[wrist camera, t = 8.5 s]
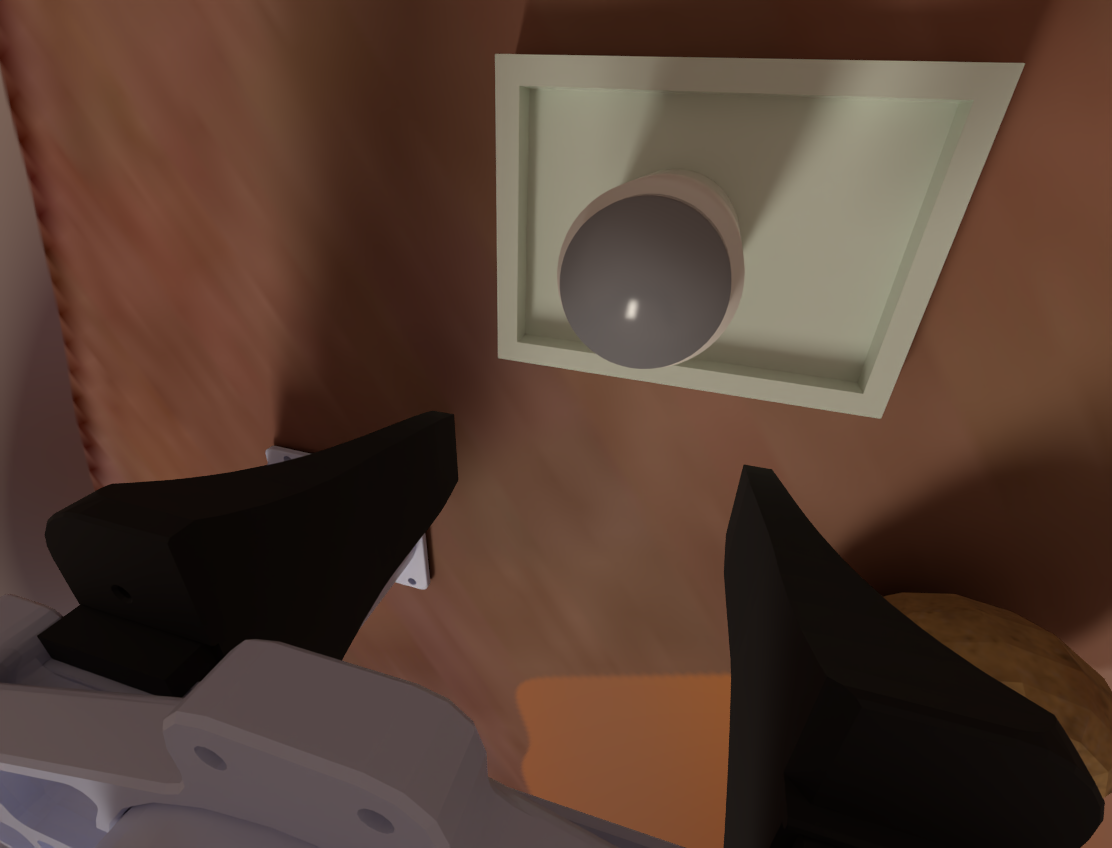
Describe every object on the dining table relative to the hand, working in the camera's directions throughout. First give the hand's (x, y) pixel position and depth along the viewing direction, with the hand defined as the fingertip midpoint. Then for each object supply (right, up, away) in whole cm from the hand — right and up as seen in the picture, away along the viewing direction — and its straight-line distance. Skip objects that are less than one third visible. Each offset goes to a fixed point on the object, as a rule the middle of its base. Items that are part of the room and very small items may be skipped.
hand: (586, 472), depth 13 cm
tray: (+4, +8, +5) cm, 10 cm away
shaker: (+3, +7, +5) cm, 10 cm away
